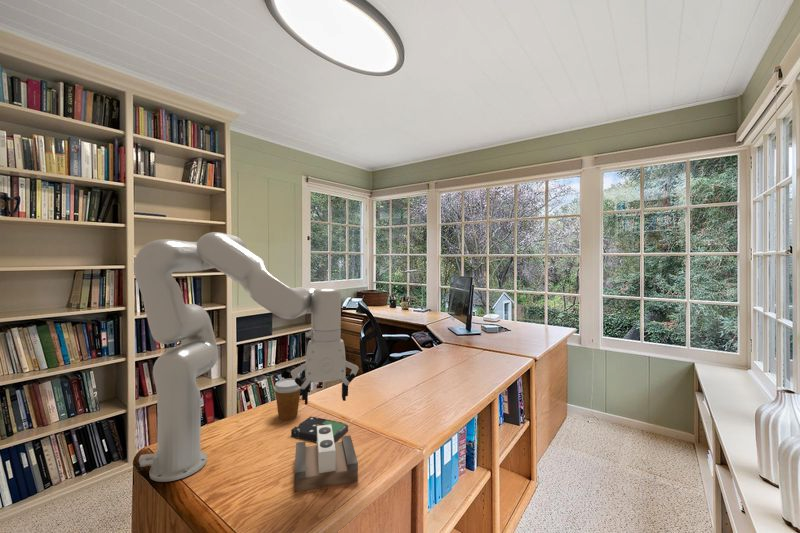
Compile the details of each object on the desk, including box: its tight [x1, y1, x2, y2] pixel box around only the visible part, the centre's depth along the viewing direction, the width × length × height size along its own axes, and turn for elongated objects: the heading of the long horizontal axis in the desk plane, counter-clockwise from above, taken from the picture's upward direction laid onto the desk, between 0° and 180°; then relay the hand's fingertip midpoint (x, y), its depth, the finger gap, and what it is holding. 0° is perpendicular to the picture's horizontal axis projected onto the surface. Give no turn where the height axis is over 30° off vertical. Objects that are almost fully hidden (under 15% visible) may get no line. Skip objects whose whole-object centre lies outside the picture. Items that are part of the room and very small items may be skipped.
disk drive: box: [290, 415, 349, 443], centre depth 106 cm, size 10×3×15 cm
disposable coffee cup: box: [273, 378, 302, 421], centre depth 118 cm, size 10×10×12 cm
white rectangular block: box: [316, 424, 336, 473], centre depth 88 cm, size 4×14×5 cm, turn 16°
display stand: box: [293, 434, 359, 493], centre depth 87 cm, size 15×14×4 cm
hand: (325, 400), depth 87 cm, fingers open, 9 cm apart
